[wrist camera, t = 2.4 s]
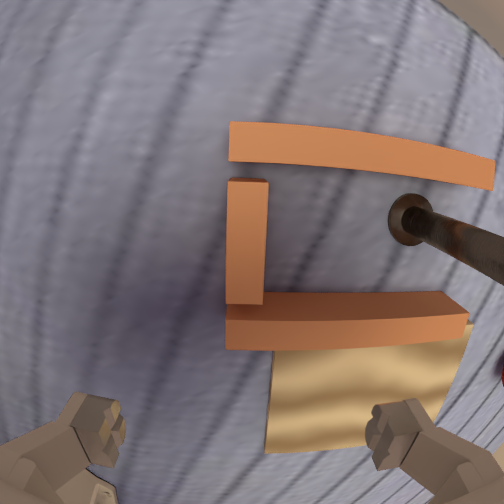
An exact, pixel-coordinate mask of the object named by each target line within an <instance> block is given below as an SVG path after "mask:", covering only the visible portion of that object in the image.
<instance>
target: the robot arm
mask: <svg viewBox="0 0 504 504" xmlns="http://www.w3.org/2000/svg"><path fill="white" fill-rule="evenodd" d="M120 410H121V407H120V404H119V401H117V400H114V399H109V398H104V397H99V396H95V395H90V394H85V393H81V392H75V393H73V395H72V396H71V398H70V399H69V401H68V402H67V404H66V406H65V407H64V409H63V410H62V412H61V414H60V415H59V417H58V418H57V420H56V422H53V421H51V422H49V423H47V424H45V425H43V426H41V427H39V428H37V429H35V430H33V431H31V432H29V433H27V434H24V435H22V436H20V437H18V438H16V439H14V440H12V441H10V442H7V443H5V444H3V445H1V446H0V504H118V500H117V495H116V490H115V488H114V487H113V486H112V485H110V484H109V483H107V482H105V481H103V480H101V479H99V478H97V477H96V476H94V475H93V474H91V473H90V472H89V471H87V470H86V469H85V468H87V467H88V466H89V465H90V463H92V464H97V465H101V466H106V467H111V468H114V467H115V464H116V461H117V458H118V456H119V452H118V449H117V447H119V446H120V445H122V444H123V442H124V439H125V433H126V425H125V420H124V418H123V417H122V416H121V415H120V414H119V412H120ZM371 414H372V416H373V418H372V419H370V420H369V421H368V422H367V425H366V428H365V440H366V443H367V446H368V448H370V449H371V450H373V451H374V452H373V455H372V459H373V462H374V464H375V467H376V469H377V471H380V470H386V469H391V468H396V467H400V469H402V470H403V471H404V472H405V473H407V474H408V475H409V476H411V477H412V478H413V479H414V480H416V481H417V482H418V483H420V484H421V485H422V486H423V487H425V488H426V489H427V490H429V491H430V492H431V493H433V494H434V495H435V496H434V497H433V498H432V499H431V500H430V502H429V503H428V504H504V472H503V471H502V469H501V468H500V466H499V465H498V463H497V462H496V460H495V459H494V457H493V456H492V454H491V453H490V452H489V451H487V450H485V449H483V448H481V447H479V446H477V445H475V444H473V443H471V442H469V441H467V440H465V439H463V438H461V437H459V436H457V435H455V434H453V433H451V432H449V431H447V430H445V429H443V428H441V427H437V428H436V427H435V425H434V423H433V422H432V420H431V419H430V417H429V416H428V414H427V412H426V411H425V409H424V408H423V406H422V405H421V403H420V402H419V400H418V399H417V398H410V399H405V400H399V401H393V402H387V403H381V404H375V406H374V407H373V409H372V411H371Z"/></svg>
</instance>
